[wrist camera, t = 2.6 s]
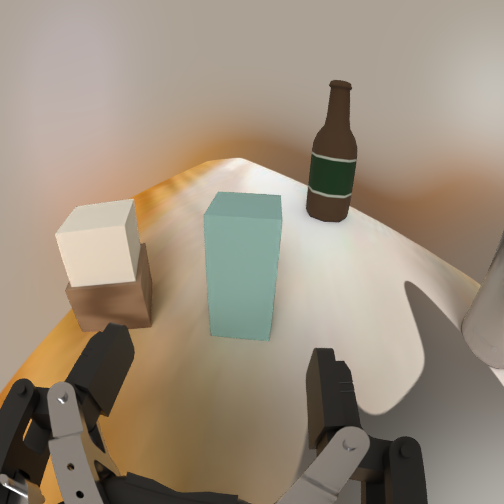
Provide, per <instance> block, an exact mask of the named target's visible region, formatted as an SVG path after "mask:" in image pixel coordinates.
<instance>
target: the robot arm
mask: <svg viewBox="0 0 504 504" xmlns="http://www.w3.org/2000/svg"><path fill="white" fill-rule="evenodd" d="M462 333H463V337H464V339H465V341H466V343H467V345H468V347H469V348H470V349H471V351H472V352H473V353H474V354H475V355H476V356H477V357H478V358H479V359H480V360H481V361H483V362H484V363H486V364H487V365H489V366H491V367H494V368H498V369H504V231H503V234H502V237H501V240H500V243H499V245H498V248H497V250H496V253H495V256H494V258H493V260H492V263H491V265H490V268H489V270H488V272H487V274H486V277H485V279H484V281H483V283H482V285H481V287H480V289H479V291H478V293H477V295H476V297H475V299H474V301H473V303H472V305H471V307H470V309H469V311H468V312H467V314H466V316H465V318H464V320H463V322H462ZM134 354H135V351H134V346H133V343H132V340H131V337H130V334H129V331H128V328H127V326H126V325H122V324H117V323H112V322H110V323H108V325H107V326H106V328H105V329H104V331H103V332H100V331H99V332H98V333H97V334H95V335H94V336H93V337H92V338H91V339H90V340H89V342H88V343H87V345H86V348H84V350H83V352H82V353H81V355H80V356H79V358H78V360H77V361H76V363H75V365H74V367H73V368H72V370H71V372H70V373H69V375H68V377H67V379H66V380H65V381H64V382H58V383H56V384H54V385H53V386H52V387H51V388H42V387H35V386H34V385H33V384H32V382H31V381H30V380H28V379H25V378H24V379H19V380H17V381H16V382H15V383H14V384H13V386H12V387H11V389H10V391H9V393H8V395H7V397H6V399H5V401H4V403H3V405H2V407H1V409H0V504H43V503H44V502H45V497H44V496H43V495H42V493H41V490H40V484H41V481H42V478H43V474H44V471H45V468H46V465H47V462H48V459H49V456H50V454H51V459H52V463H53V467H54V471H55V474H56V478H57V481H58V485H59V488H60V491H61V494H62V497H63V500H64V501H62V502H60V503H58V504H251V503H248V502H246V501H244V500H240V499H238V495H230V494H221V493H214V492H190V493H181V492H177V491H174V490H172V489H170V488H168V487H166V486H164V485H162V484H160V483H158V482H156V481H154V480H153V479H149V478H146V477H142V476H139V475H136V474H133V473H130V472H127V476H121V474H120V472H119V470H118V468H117V466H116V464H115V463H114V461H113V460H112V458H111V456H110V454H109V451H108V448H107V446H106V443H105V440H104V437H103V434H102V431H101V427H100V424H99V421H98V417H99V415H100V414H101V415H104V416H106V417H109V414H110V412H111V409H112V407H113V405H114V402H115V400H116V398H117V395H118V393H119V391H120V388H121V386H122V384H123V382H124V379H125V377H126V375H127V373H128V371H129V368H130V366H131V364H132V362H133V359H134ZM352 382H353V380H352V375H351V371H350V369H349V368H348V366H347V365H346V363H345V362H344V361H335V355H334V350H333V349H332V348H314V350H313V353H312V356H311V360H310V363H309V366H308V369H307V374H306V392H307V410H308V433H309V449H317V458H316V459H315V460H314V461H313V462H312V463H311V465H310V466H309V467H308V469H306V470H305V472H304V473H303V474H302V475H301V476H300V478H298V480H297V481H296V482H295V483H294V484H293V485H292V486H291V487H290V488H289V489H288V490H287V491H286V492H285V493H284V494H283V495H282V496H281V497H280V498H279V499H278V500H277V501H276V502H275V503H274V504H334V503H335V501H336V500H337V498H338V494H339V492H340V490H341V489H342V488H343V486H344V485H345V484H346V482H347V481H348V479H352V480H357V481H361V504H428V502H427V491H426V481H425V473H424V466H423V459H422V453H421V448H420V445H419V443H418V442H417V441H416V440H415V439H413V438H411V437H407V436H406V437H400V438H398V439H396V440H395V441H387V440H381V439H376V438H373V437H371V436H369V435H368V434H366V432H365V431H364V430H363V429H362V427H361V424H360V419H359V413H358V407H357V402H356V396H355V392H354V386H353V383H352ZM30 418H31V419H32V422H31V424H30V427H29V429H28V431H27V434H26V436H25V439H24V441H23V435H24V432H25V430H26V427H27V425H28V423H29V420H30Z"/></svg>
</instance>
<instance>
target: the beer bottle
mask: <svg viewBox="0 0 504 504" xmlns="http://www.w3.org/2000/svg"><path fill="white" fill-rule="evenodd" d="M329 86H330V87H331V92H330V98H329V105H328V113H327V118H326V122H325V125H324V126H323V127H322V128H321V130H320V131H319V132H318V133H317V136H316V137H315V140H314V142H313V148H312V156H311V166H310V175H309V184H308V193H307V203H306V209H307V212H308V213H309V215H310V217H313V218H316V219H319V220H321V221H324V222H340V221H342V220H343V219H345V218H346V217H347V214H348V210H349V205H350V199H351V194H352V187H353V181H354V175H355V168H356V160H357V145H356V141H355V138H354V136H353V134H352V132H351V130H350V121H349V117H350V90H351V89H352V87H351V84H350V83H348V82H345V81H341V80H333V81H331V82H330V85H329Z"/></svg>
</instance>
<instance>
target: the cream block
mask: <svg viewBox="0 0 504 504" xmlns="http://www.w3.org/2000/svg"><path fill="white" fill-rule="evenodd" d="M55 236H56V239H57V243H58V247H59V250H60V253H61V256H62V260H63V263H64V266H65V269H66V272H67V275H68V278H69V281H70V284H71V287H79V286H90V285H101V284H112V283H122V282H133V281H136V274H137V267H138V260H139V253H140V247H141V246H140V239H139V233H138V226H137V219H136V212H135V204H134V199H128V200H120V201H112V202H105V203H98V204H91V205H84V206H77V207H76V208H75V209H74V210H73V211H72V213H71V214H70V215H69V217H68V218H67V219H66V220H65V222H64V223H63V224H62V226H61V227H60V228H59V230H58V231H57V232H56V234H55Z"/></svg>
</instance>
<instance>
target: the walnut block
mask: <svg viewBox="0 0 504 504" xmlns="http://www.w3.org/2000/svg"><path fill="white" fill-rule="evenodd" d="M140 246H141V247H140V253H139V260H138V267H137V274H136V281H133V282H122V283H112V284H101V285H90V286H79V287H71V284H70V281H69V283H68V285H67V288H66V290H65V291H66V294H67V297H68V299H69V302H70V304H71V306H72V309H73V311H74V314H75V316H76V318H77V320H78V323H79V325H80V327H81V329H82V331H83V332H90V331H104V329H105V328H106V326H107V325H108V323H110V322H112V323H117V324H122V325H126V326H127V328H128V329H134V328H145V327H151V303H152V279H151V274H150V268H149V263H148V257H147V251H146V244H145V243H143V244H140Z"/></svg>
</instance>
